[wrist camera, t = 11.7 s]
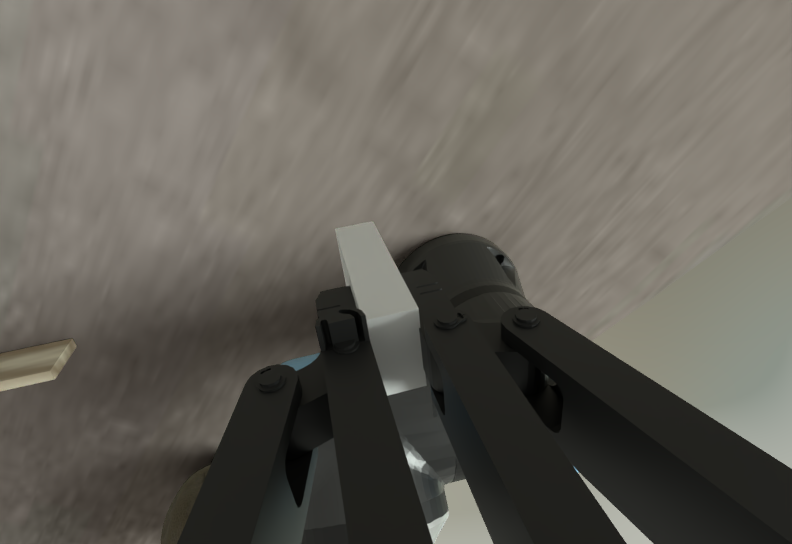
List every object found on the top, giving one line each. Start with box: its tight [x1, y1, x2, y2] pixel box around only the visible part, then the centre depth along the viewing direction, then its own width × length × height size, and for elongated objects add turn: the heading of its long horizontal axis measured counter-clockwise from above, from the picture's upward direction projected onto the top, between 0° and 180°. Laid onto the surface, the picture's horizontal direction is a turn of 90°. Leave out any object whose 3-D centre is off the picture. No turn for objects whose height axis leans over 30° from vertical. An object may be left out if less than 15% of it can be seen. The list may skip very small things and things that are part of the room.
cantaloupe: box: [161, 465, 210, 544], centre depth 51 cm, size 14×14×15 cm
